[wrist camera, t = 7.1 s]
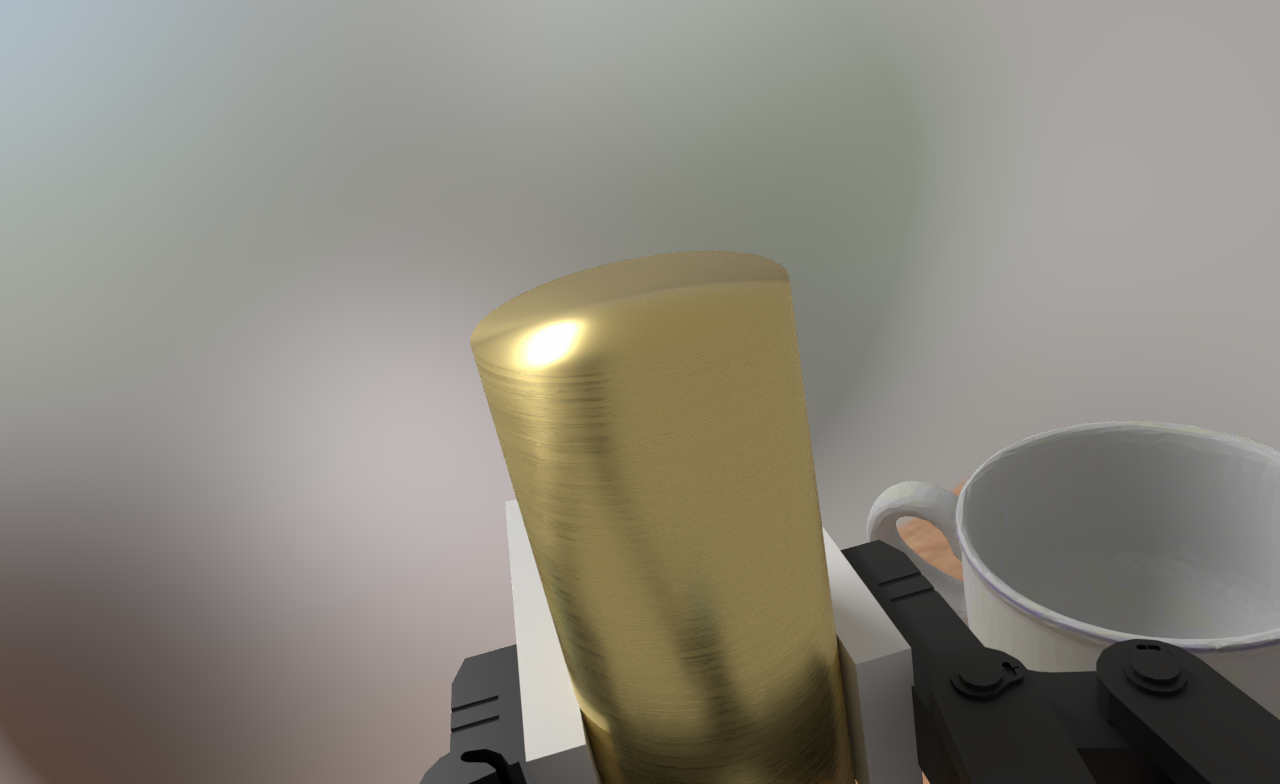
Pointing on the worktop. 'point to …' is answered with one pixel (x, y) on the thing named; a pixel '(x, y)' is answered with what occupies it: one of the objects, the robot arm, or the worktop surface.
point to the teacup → (1113, 547)
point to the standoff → (675, 515)
